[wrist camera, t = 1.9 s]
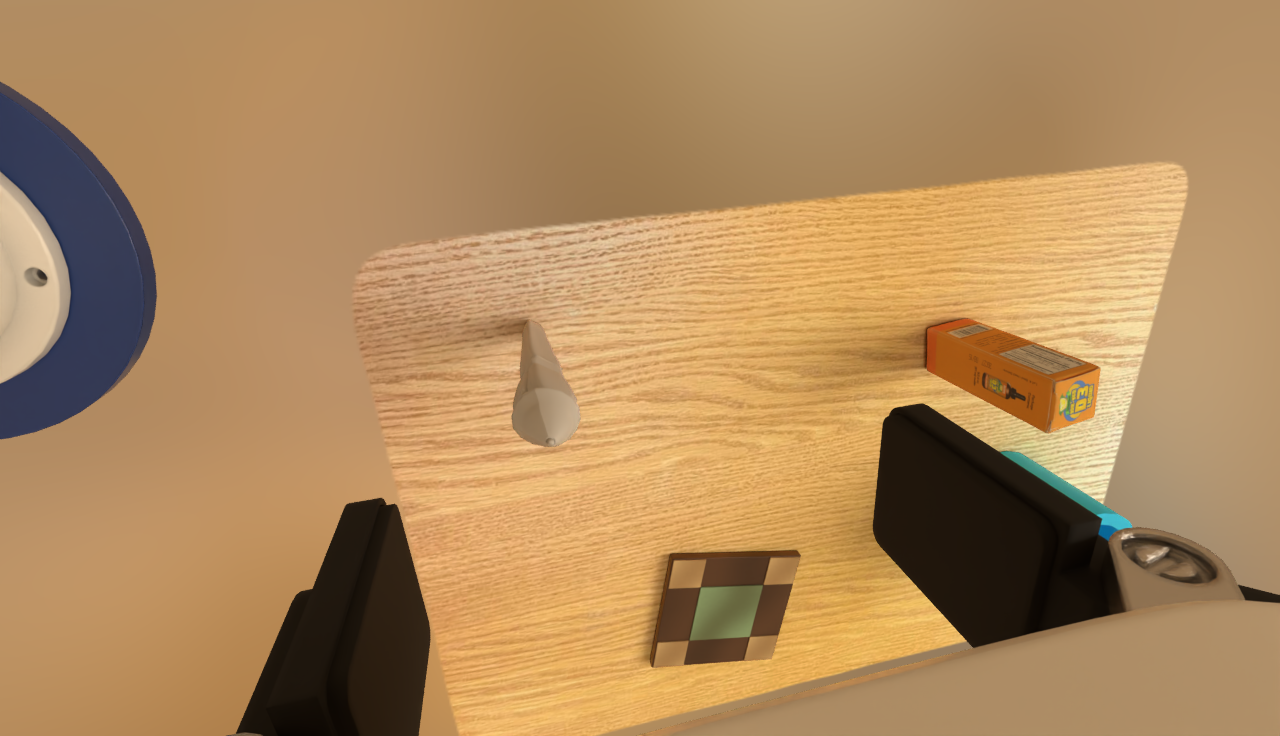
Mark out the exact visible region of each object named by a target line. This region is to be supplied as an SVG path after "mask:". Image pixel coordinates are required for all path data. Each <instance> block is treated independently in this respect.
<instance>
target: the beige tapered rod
mask: <svg viewBox="0 0 1280 736" xmlns="http://www.w3.org/2000/svg"><path fill="white" fill-rule="evenodd" d="M520 378H521V380H520V382H519V384H518V387H517V390H516V393H515V398H514V402H513V413H512V424H513V429H514V430H515V431H516V432H517V433H518V435H519V436H520V437H521V438H523V439H525V440H526V441H528V442H530V443H532V444H535V445H540V446H544V447H556V446H559V445H560V444H562V443H564V442H566V441H567V440H569V439H570V438H571V436H572V435H573V434H574V433H575V431H576V430H577V428H578V425H579V422H580V408H579V406H578V405H577V398H576V396H575V394H574V392H573V390H572V388H571V387H570V385H569V384H568V382H567V381H566V379H565V378H564V376H563V373H562V368H561V365H560V363H559V361H558V359H557V357H556V355H555V354H554V351H553V349H552V347H551V345H550V343H549V341H548V339H547V336H546V333H545V331H544V329H543V327H542V326H541V325H539V324H537V323H535V322H533V321H531V320H528V321H527V323H526V324H525V327H524V329H523V334H522V351H521V362H520Z"/></svg>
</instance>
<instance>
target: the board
mask: <svg viewBox="0 0 1280 736" xmlns="http://www.w3.org/2000/svg"><path fill="white" fill-rule="evenodd" d="M800 557H801V555H800V554H799V552H798V551H769V552H728V553H687V554H671V555H670V560H669V565H668V570H667V576H666V581H665V586H664V591H663V597H662V602H661V607H660V612H659V617H658V623H657V628H656V633H655V638H654V643H653V649H652V654H651V659H650V663H651V667H653V668H657V667H671V666H683V665H691V664H705V663H718V662H732V661H752V660H765V659H772V656H773V653H774V649H775V646H776V642H777V638H778V635H779V631H780V628H781V624H782V621H783V617H784V613H785V610H786V606H787V603H788V599H789V596H790V592H791V589H792V585H793V582H794V578H795V574H796V571H797V567H798V564H799V560H800Z"/></svg>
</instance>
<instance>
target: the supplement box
mask: <svg viewBox="0 0 1280 736" xmlns="http://www.w3.org/2000/svg"><path fill="white" fill-rule="evenodd" d="M927 370H928V371H929V372H931V373H933V374H935V375H937V376H939V377H940V378H942V379H944V380H946V381H948V382H950V383H952V384H954V385H956V386H958V387H960V388H962V389H963V390H965V391H967V392H969V393H971V394H973V395H975V396H977V397H979V398H981V399H982V400H984V401H986V402H988V403H990V404H992V405H994V406H996V407H998V408H1000V409H1002V410H1004V411H1006V412H1007V413H1009V414H1011V415H1013V416H1015V417H1017V418H1019V419H1021V420H1023V421H1025V422H1027V423H1028V424H1030V425H1032V426H1034V427H1036V428H1038V429H1040V430H1041V431H1043V432H1045V433H1051V432H1053V431H1055V430H1058V429H1060V428H1063V427H1066V426H1069V425H1073V424H1075V423H1078V422H1081V421H1084V420H1087V419H1090V418H1093V417H1094V414H1095V406H1096V398H1097V391H1098V383H1099V376H1100V367H1098V366H1096V365H1093V364H1091V363H1088V362H1085V361H1083V360H1080V359H1078V358H1075V357H1072V356H1069V355H1066V354H1064V353H1061V352H1058V351H1055V350H1053V349H1050V348H1047V347H1045V346H1042V345H1039V344H1037V343H1034V342H1031V341H1028V340H1026V339H1023V338H1021V337H1018V336H1015V335H1012V334H1010V333H1007V332H1004V331H1001V330H998V329H996V328H993V327H990V326H987V325H984V324H982V323H979V322H976V321H974V320H971V319H968V318H964V319H961V320H957V321H953V322H949V323H946V324H942V325H938V326H934V327H930V328H928V329H927Z"/></svg>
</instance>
